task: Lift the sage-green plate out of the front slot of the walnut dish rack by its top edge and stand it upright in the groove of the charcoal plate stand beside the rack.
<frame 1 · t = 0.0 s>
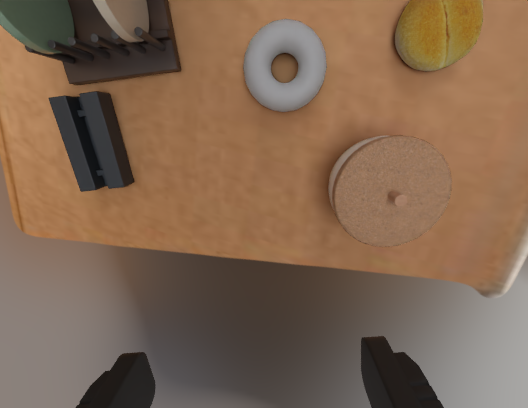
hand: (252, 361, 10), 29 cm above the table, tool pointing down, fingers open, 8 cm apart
sage plate: (67, 10, 30), point 1 cm above the table, touching dish rack
dish rack: (111, 10, 31), on the table
bread roll: (430, 32, 31), on the table
donut: (283, 70, 33), on the table
lidded bowl: (363, 177, 37), on the table
plate stand: (102, 142, 36), on the table
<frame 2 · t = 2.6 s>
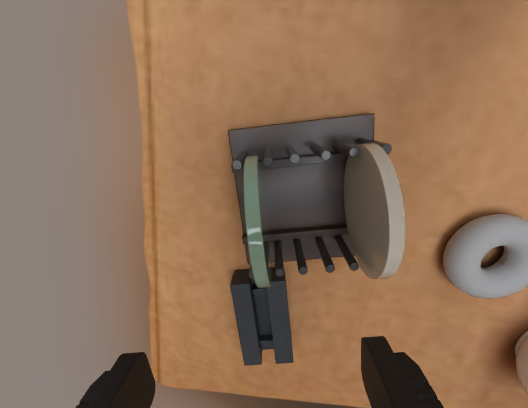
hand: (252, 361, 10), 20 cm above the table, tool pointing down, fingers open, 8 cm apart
sage plate: (262, 200, 27), point 1 cm above the table, touching dish rack
dish rack: (303, 192, 29), on the table
cream plate: (348, 192, 27), point 1 cm above the table, touching dish rack
donut: (479, 249, 30), on the table
plate stand: (264, 308, 34), on the table
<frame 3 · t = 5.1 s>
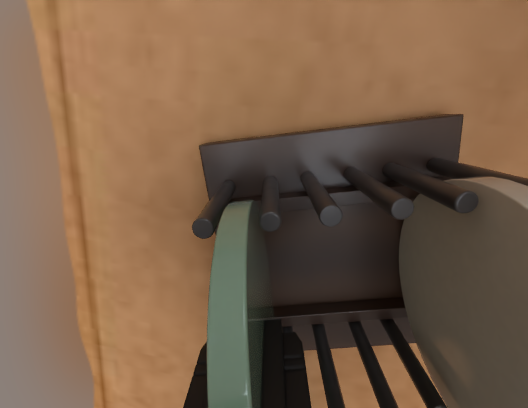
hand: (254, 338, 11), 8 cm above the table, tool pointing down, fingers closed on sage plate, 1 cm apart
sage plate: (260, 261, 16), point 2 cm above the table, touching dish rack, gripper
dish rack: (327, 244, 17), on the table
cream plate: (406, 248, 16), point 1 cm above the table, touching dish rack
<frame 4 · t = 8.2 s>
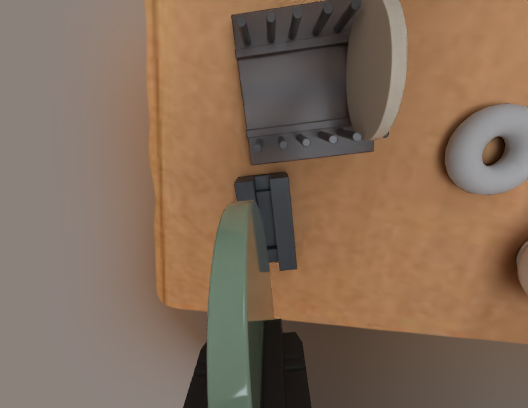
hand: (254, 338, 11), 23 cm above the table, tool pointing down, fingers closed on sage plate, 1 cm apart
sage plate: (260, 261, 16), point 17 cm above the table, touching gripper
dish rack: (305, 89, 29), on the table
cream plate: (350, 82, 27), point 1 cm above the table, touching dish rack
donut: (481, 149, 31), on the table
plate stand: (267, 219, 34), on the table
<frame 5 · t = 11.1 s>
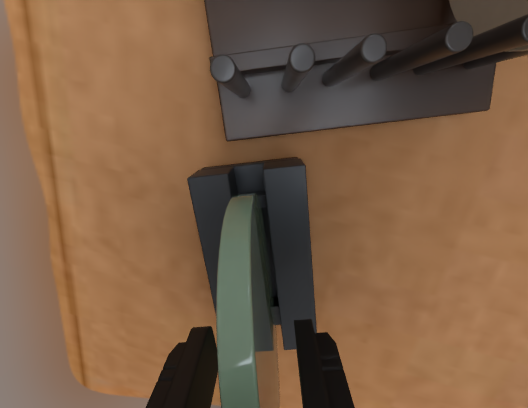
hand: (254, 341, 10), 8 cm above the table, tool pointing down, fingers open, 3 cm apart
sage plate: (261, 253, 17), point 1 cm above the table, touching plate stand
plate stand: (261, 248, 18), on the table
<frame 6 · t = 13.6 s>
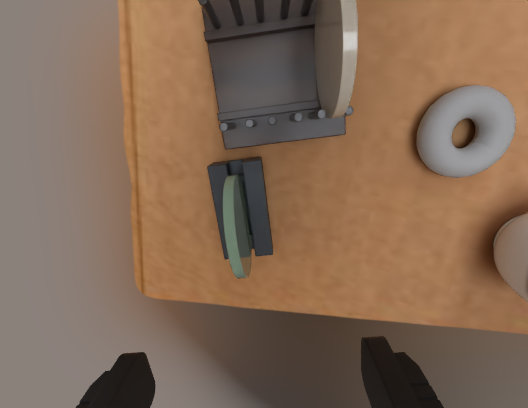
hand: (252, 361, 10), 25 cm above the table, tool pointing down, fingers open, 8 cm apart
sage plate: (243, 207, 33), point 1 cm above the table, touching plate stand
dish rack: (277, 73, 29), on the table
cream plate: (319, 64, 28), point 1 cm above the table, touching dish rack
donut: (452, 132, 31), on the table
lidded bowl: (519, 238, 35), on the table
plate stand: (244, 205, 34), on the table
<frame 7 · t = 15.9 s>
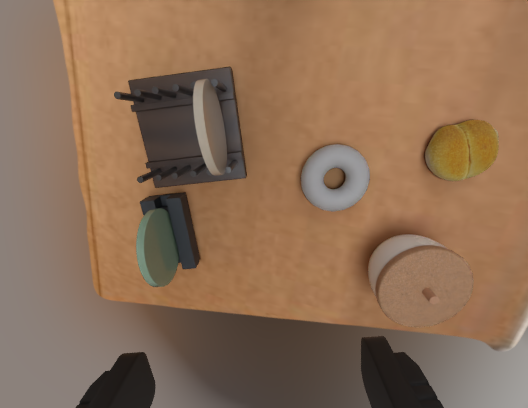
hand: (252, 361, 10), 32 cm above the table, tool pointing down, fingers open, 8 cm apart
sage plate: (174, 230, 42), point 1 cm above the table, touching plate stand
dish rack: (192, 131, 38), on the table
cream plate: (221, 128, 37), point 1 cm above the table, touching dish rack
bread roll: (454, 149, 38), on the table
donut: (331, 176, 40), on the table
lidded bowl: (394, 256, 44), on the table
plate stand: (175, 228, 43), on the table
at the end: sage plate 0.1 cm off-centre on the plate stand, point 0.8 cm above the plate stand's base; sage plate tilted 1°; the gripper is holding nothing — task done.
